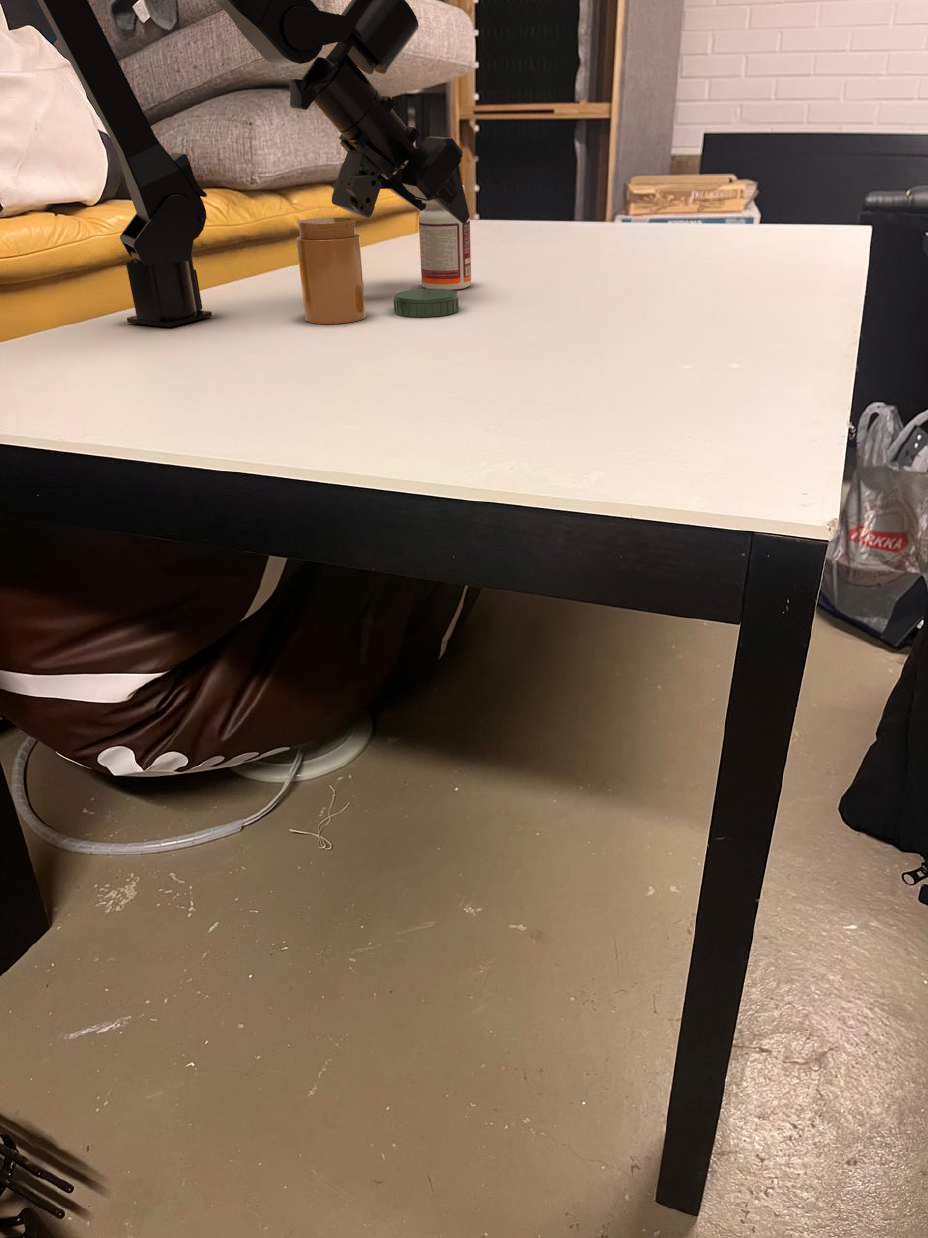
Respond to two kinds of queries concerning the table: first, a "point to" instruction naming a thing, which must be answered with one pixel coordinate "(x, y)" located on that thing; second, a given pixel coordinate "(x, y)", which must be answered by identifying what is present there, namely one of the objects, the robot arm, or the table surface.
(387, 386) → the table surface
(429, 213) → the pill bottle
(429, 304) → the jar lid
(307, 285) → the jar
